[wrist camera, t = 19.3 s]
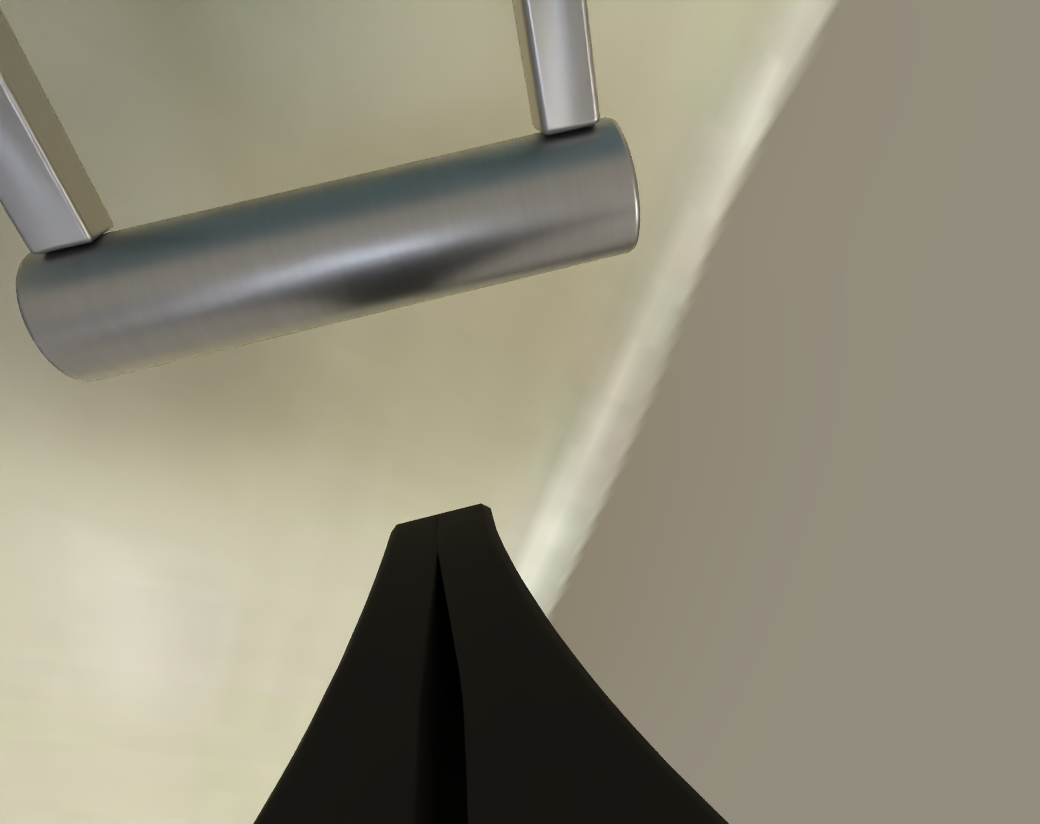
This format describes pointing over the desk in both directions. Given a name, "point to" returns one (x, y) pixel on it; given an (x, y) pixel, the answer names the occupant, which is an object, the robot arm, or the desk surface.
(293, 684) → the desk surface
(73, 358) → the drawer
